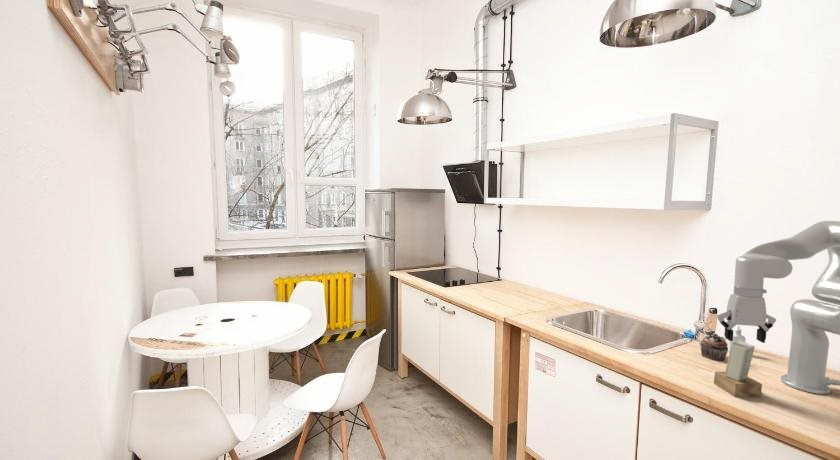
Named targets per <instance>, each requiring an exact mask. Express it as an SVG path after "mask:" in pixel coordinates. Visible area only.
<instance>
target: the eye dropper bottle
mask: <svg viewBox="0 0 840 460" xmlns="http://www.w3.org/2000/svg"><path fill="white" fill-rule="evenodd" d="M746 340H747V339H746V337H745V336H744V335H743V334H742V329H741V328H740V325H736V328H733V341H729V340H728V339H727V347H728V352H727V353H730V349H731V345H732V344H733V343H735V342H738V341H742V342H745V343H746Z"/></svg>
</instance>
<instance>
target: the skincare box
mask: <svg viewBox="0 0 840 460" xmlns="http://www.w3.org/2000/svg"><path fill="white" fill-rule="evenodd" d="M754 350H755V345H752V344H749V343H747V342H746V341H745V342H742V341H738V342H735V343H733V344H732V345H731V349H730V352H728V354H729V355H728V357H727V363H726V366H725V371H724V372H725V375H726V376H728V377H730V378H732V379H734V380H736V381H740V380H743V379H745V378H747V376H748V377H749V371H750V367H751V363H752V359H753V355H754Z"/></svg>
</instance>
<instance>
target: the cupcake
mask: <svg viewBox="0 0 840 460" xmlns="http://www.w3.org/2000/svg"><path fill="white" fill-rule="evenodd" d="M726 340H727V339H726V338H725V337H724V336H720V335H718V334H717V333H714V334H711V333H705V334H704V335H703V338H702V341H701V342H699V346H700V351H701V352H700V354H701V356H702V357H703V358H705V359H708V360H712V361H716V362H723V361H725V359H726V357H727V354H728V353H729V352H728V342H726Z"/></svg>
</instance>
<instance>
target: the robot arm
mask: <svg viewBox="0 0 840 460" xmlns="http://www.w3.org/2000/svg"><path fill="white" fill-rule="evenodd" d="M825 250H827V254H828V264H827V266H826V267H825V268H824V270H823V272H822V273H821V274H820V276H819V277H818V278H817V280H816V281H815V282H814V284H813V286H812V288H811V295H812V296H813V297H814V298H815V299H817V300H814V299H807V298H806V299H805V298H804V299H798V300H796V301H794V302H793V303H792V304H791V306H790V310H789V311H790V312H789V313H790V320H791V337H790V338H791V339H790V346H789V354H788V355H789V356H788V364H787V374H784V375H781V376H780V381H781V382H782V383H784V384H785V385H786V386H789V387H791V388H794V389H797V390H800V391H804V392H806V393H810V394H817V395H828V394H830V393H831V388H830V387H829V386H840V380H839V379H831V378H830V377H829V376H826V373H827V365H828V358H829V357H828V356H829V348H830V341H829V337H828V335H827V333H831V334H834V335H838V336H840V220H839V221H838V220H837V221H835V220H823V221H818V222H815V223H814V224H812V225H810V226H808V227H806V229H803V230H801V231H800V232H798V233H796V234H794V235H793V236H791V237H788V238H782V239H778V240H775V241H770V242H766V243H762V244H759V245H757V246H755V247H753V248H751V249H749V250H748V251H746V252H745V253H743V254H742V255H740V256H738V257H737V258H736V259H735V264H734V265H735V267H734V268H735V269H734V282H733V283H734V284H733V285H734V286H733V293H731V294H730V296H729V299H728V300H727V305H726V311H725V312H722V313H720V314H718V315H716V317H717V319H718V321H719V323H720V324H721V326H722V327H723V328H724V334H723V335H724V338H725V339H726V340H727V341H728V340H729V341H733V334H734V327H736V326H751V327H758V328H757V329H756V340H757V341H758V342H761V343H766V339H767V332H769V330H770V329H771V328H773V327H774V324H775V323H776V321H777V319H776V318H775V317H773V316H771V315H769V314H767V304H766V299H765V297H763V296H764V294H767V292H768V291H767V289H765V288H764V281H765V280H764V279H765V278H768V279H773V280H774V279H775V280H776V279H777V280H779V279H784V278H787V277H789V275H790V274H792V271H793V269H794V268H793V264H792V263H791V262H790V261H792V260H793V261H796V260H805V259H806V260H807V259H810V258H813V257H815V256H817V255H818V254H820V253H822V252H823V251H825Z"/></svg>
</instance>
